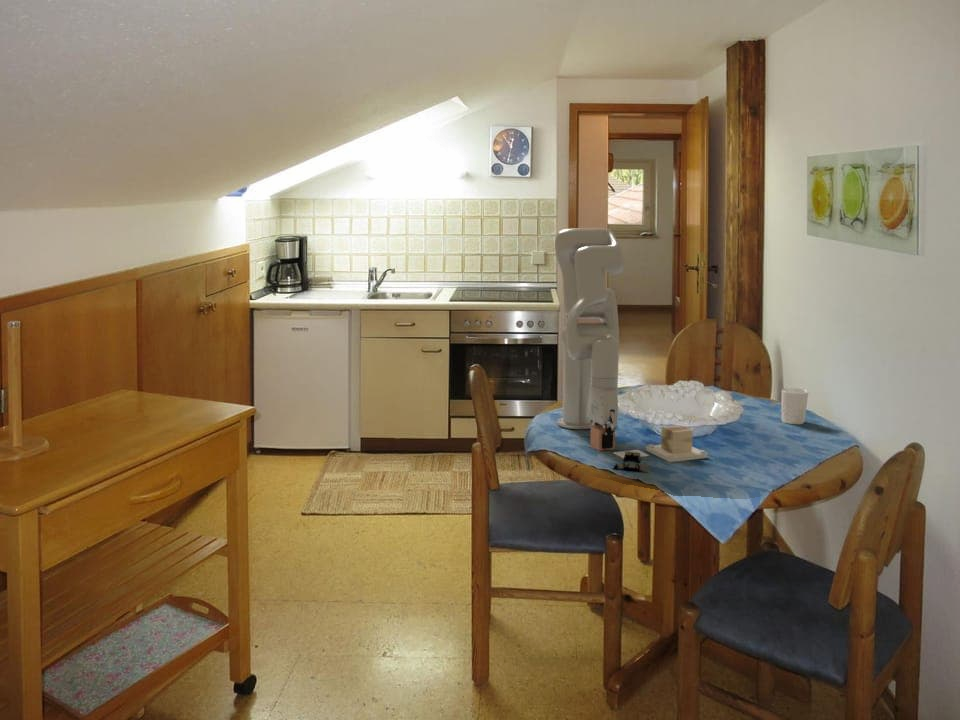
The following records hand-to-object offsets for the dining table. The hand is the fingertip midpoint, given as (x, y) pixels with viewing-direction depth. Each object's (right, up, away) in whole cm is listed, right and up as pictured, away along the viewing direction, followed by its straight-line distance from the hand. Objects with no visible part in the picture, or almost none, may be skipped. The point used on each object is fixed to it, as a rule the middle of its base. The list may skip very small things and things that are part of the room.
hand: (602, 444), depth 268 cm
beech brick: (+20, -1, -6) cm, 21 cm away
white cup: (+64, +4, +30) cm, 70 cm away
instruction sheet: (+7, -2, -7) cm, 10 cm away
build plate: (+20, -2, -6) cm, 21 cm away
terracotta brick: (0, -1, 0) cm, 1 cm away
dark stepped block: (+5, -5, -19) cm, 20 cm away
